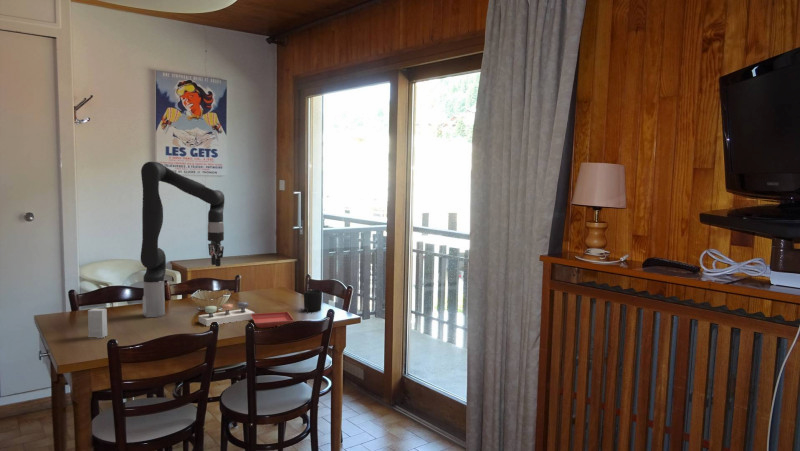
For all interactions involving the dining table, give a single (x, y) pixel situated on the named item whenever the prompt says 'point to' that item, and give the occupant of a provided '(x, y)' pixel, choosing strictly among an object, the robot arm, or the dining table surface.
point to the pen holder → (312, 300)
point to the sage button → (210, 310)
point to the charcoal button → (242, 306)
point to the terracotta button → (227, 308)
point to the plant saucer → (271, 319)
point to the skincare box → (97, 323)
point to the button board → (226, 317)
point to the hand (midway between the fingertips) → (215, 265)
